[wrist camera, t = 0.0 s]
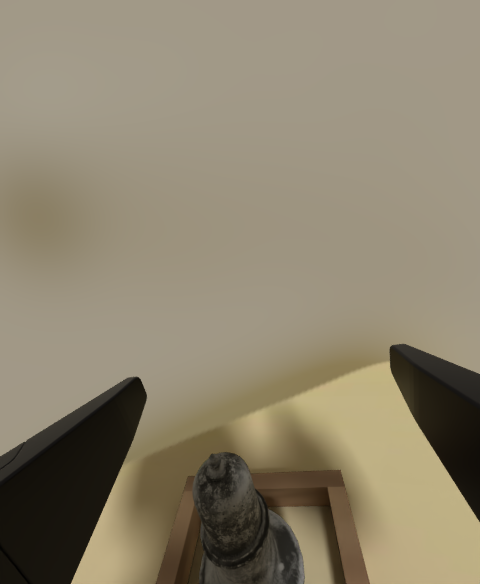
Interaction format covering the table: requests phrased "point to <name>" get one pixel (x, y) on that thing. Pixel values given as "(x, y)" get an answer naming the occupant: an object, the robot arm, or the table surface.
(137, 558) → the table surface
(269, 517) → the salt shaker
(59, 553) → the robot arm
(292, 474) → the frame
